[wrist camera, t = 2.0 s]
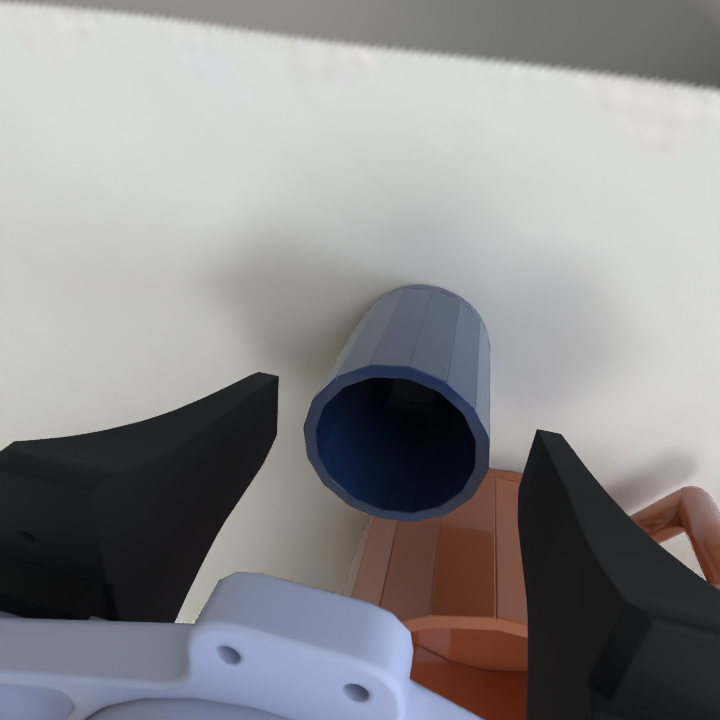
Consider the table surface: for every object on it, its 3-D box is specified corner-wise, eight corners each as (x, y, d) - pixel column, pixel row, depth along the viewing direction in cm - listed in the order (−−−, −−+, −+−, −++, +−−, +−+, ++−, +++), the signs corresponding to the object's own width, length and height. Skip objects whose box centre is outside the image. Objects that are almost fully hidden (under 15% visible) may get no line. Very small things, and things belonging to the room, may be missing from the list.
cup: (423, 426, 21) (398, 547, 15) (332, 345, 20) (270, 440, 14) (518, 350, 19) (531, 459, 13) (420, 255, 18) (386, 327, 12)
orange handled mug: (482, 695, 27) (480, 867, 21) (309, 554, 26) (252, 697, 19) (795, 564, 20) (931, 770, 14) (580, 353, 18) (625, 482, 12)
